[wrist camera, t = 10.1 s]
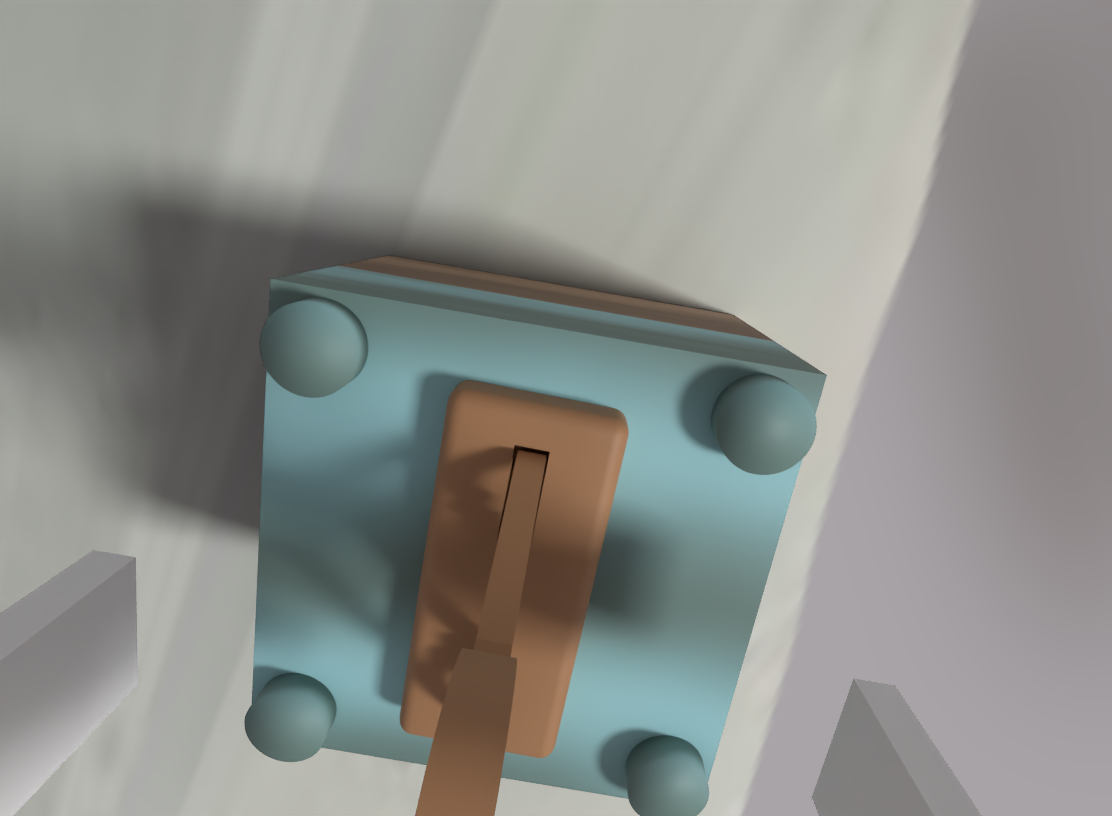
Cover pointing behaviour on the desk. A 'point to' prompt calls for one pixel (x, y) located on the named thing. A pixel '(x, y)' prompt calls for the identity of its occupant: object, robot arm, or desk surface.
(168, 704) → the desk surface
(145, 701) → the desk surface
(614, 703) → the teal and brown block
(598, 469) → the lever handle backplate
